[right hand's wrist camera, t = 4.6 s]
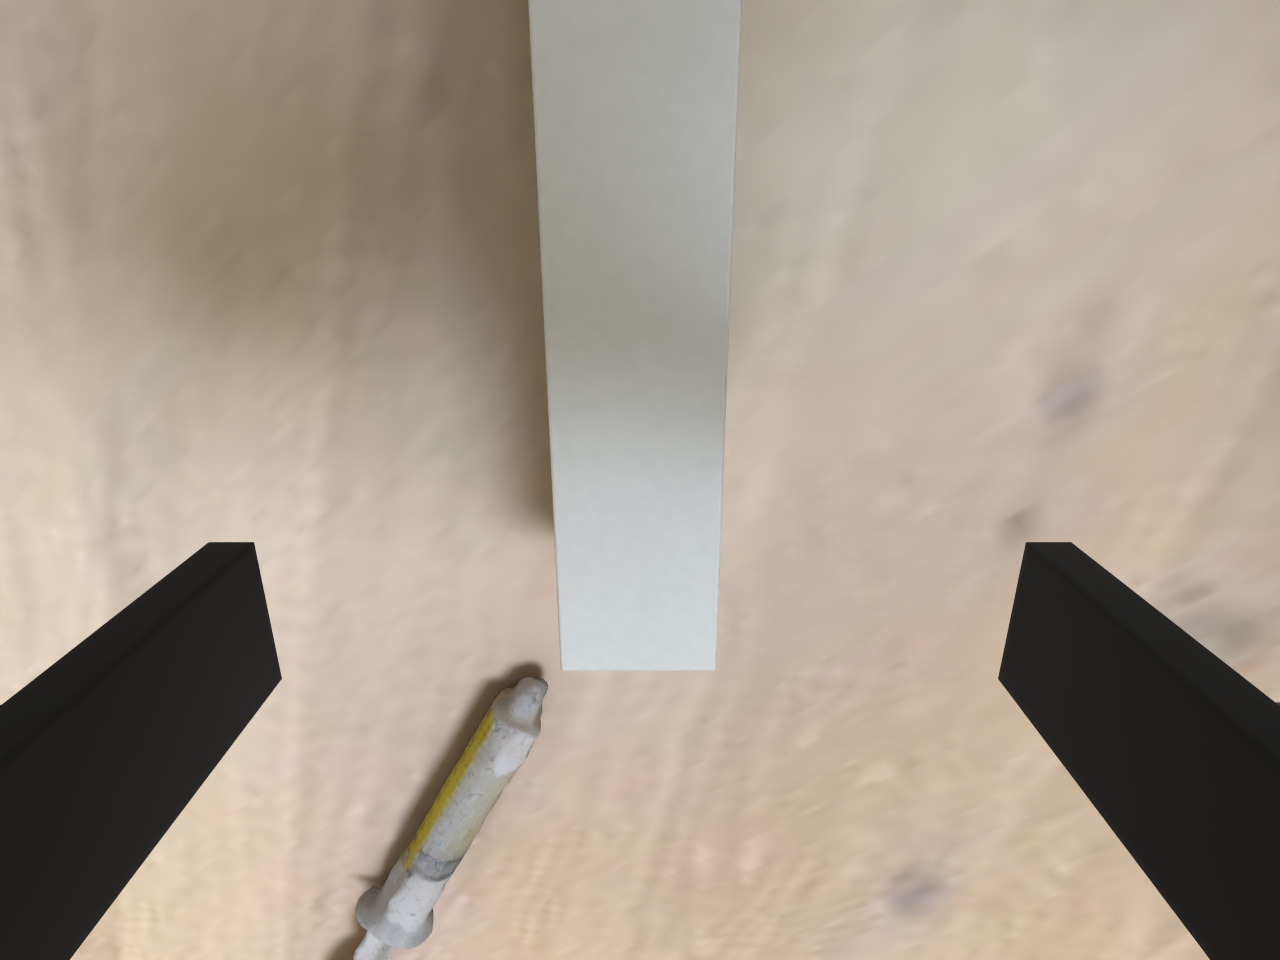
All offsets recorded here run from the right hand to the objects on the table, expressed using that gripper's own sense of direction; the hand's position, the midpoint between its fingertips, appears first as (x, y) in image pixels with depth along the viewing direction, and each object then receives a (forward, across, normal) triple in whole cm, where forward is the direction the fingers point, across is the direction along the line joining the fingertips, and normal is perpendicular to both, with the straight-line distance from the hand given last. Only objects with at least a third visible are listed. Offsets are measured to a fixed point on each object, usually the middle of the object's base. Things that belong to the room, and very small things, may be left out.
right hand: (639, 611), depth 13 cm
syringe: (+15, +10, +23) cm, 30 cm away
